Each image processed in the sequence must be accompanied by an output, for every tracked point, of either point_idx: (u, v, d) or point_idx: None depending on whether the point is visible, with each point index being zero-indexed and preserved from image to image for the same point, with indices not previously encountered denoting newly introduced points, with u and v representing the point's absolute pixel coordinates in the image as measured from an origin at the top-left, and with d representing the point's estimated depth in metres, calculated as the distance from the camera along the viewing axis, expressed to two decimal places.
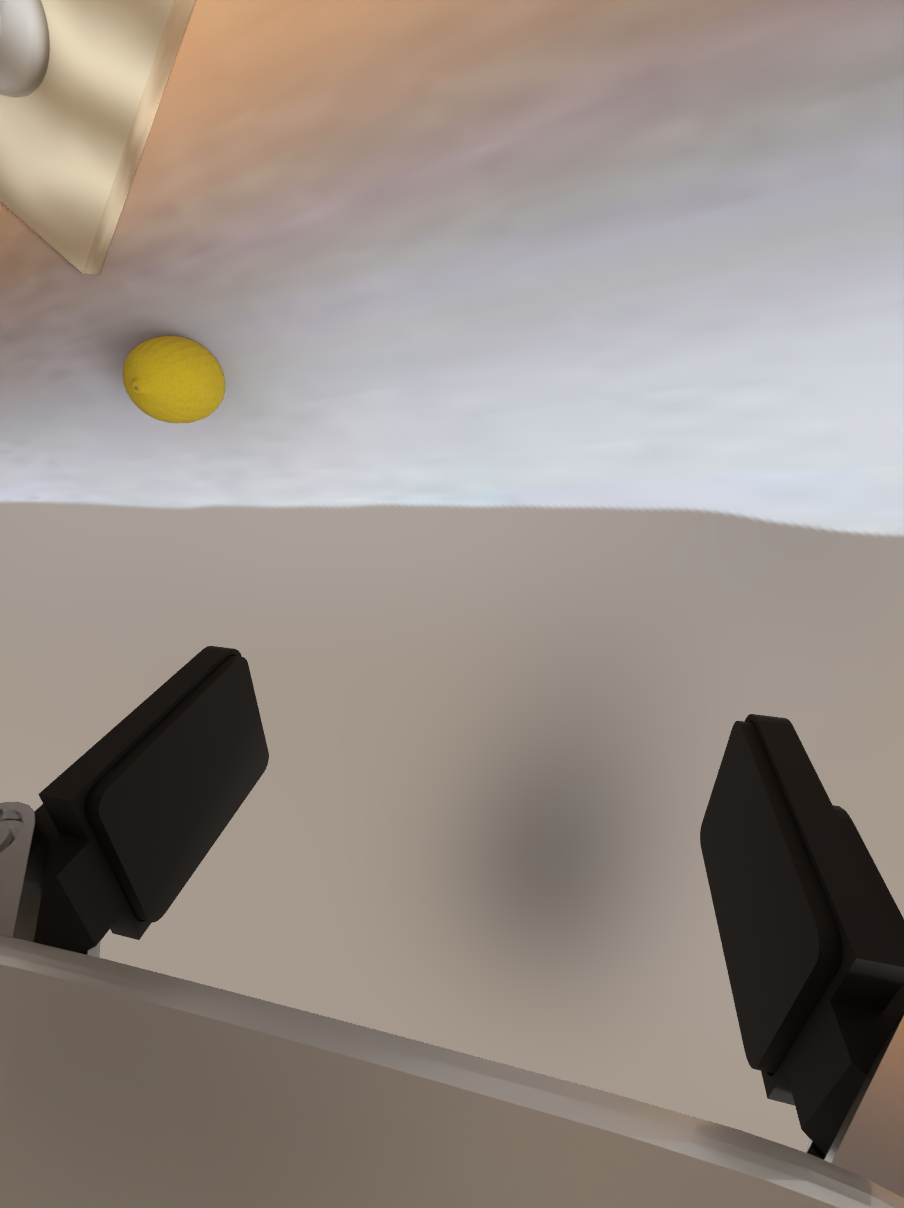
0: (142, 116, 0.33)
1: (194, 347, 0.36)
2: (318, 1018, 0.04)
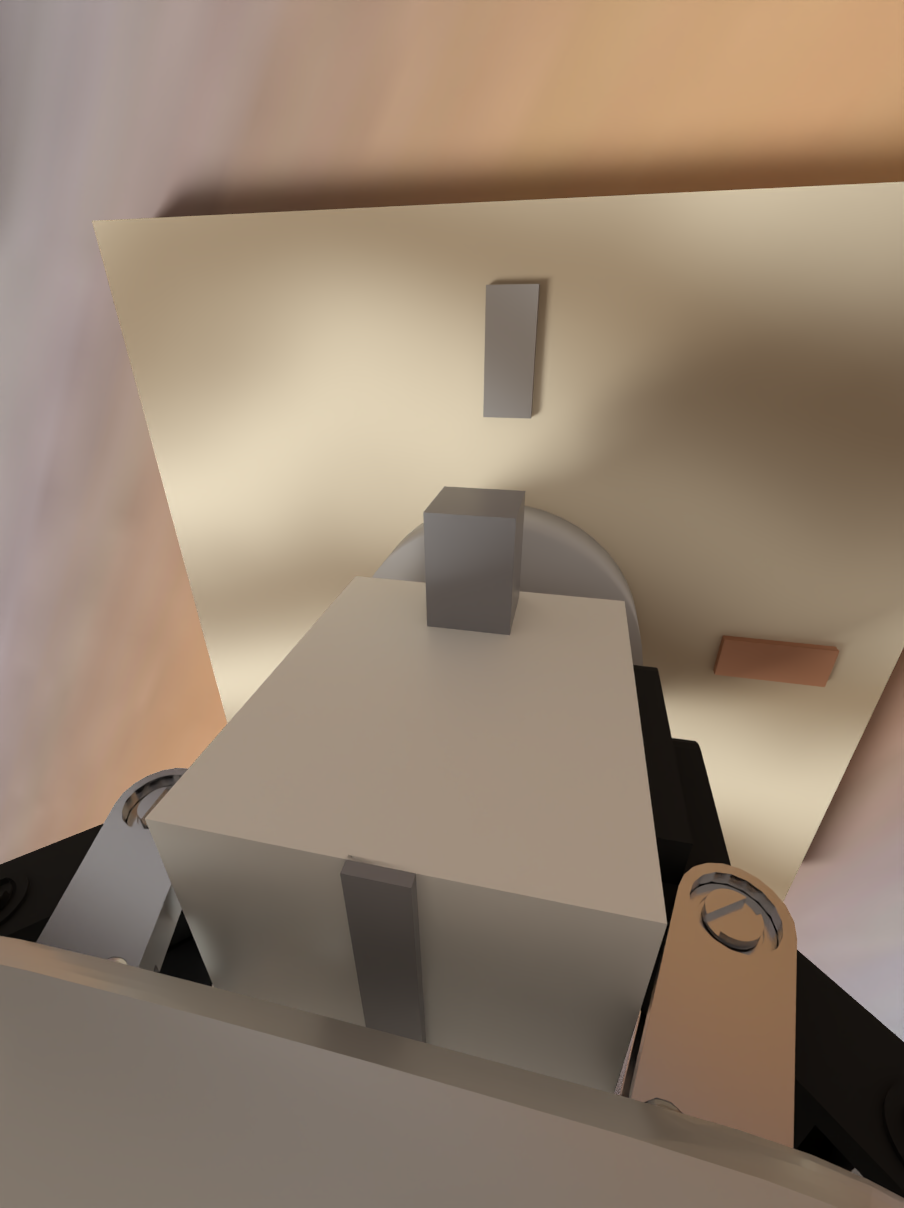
0: None
1: None
2: (318, 1018, 0.04)
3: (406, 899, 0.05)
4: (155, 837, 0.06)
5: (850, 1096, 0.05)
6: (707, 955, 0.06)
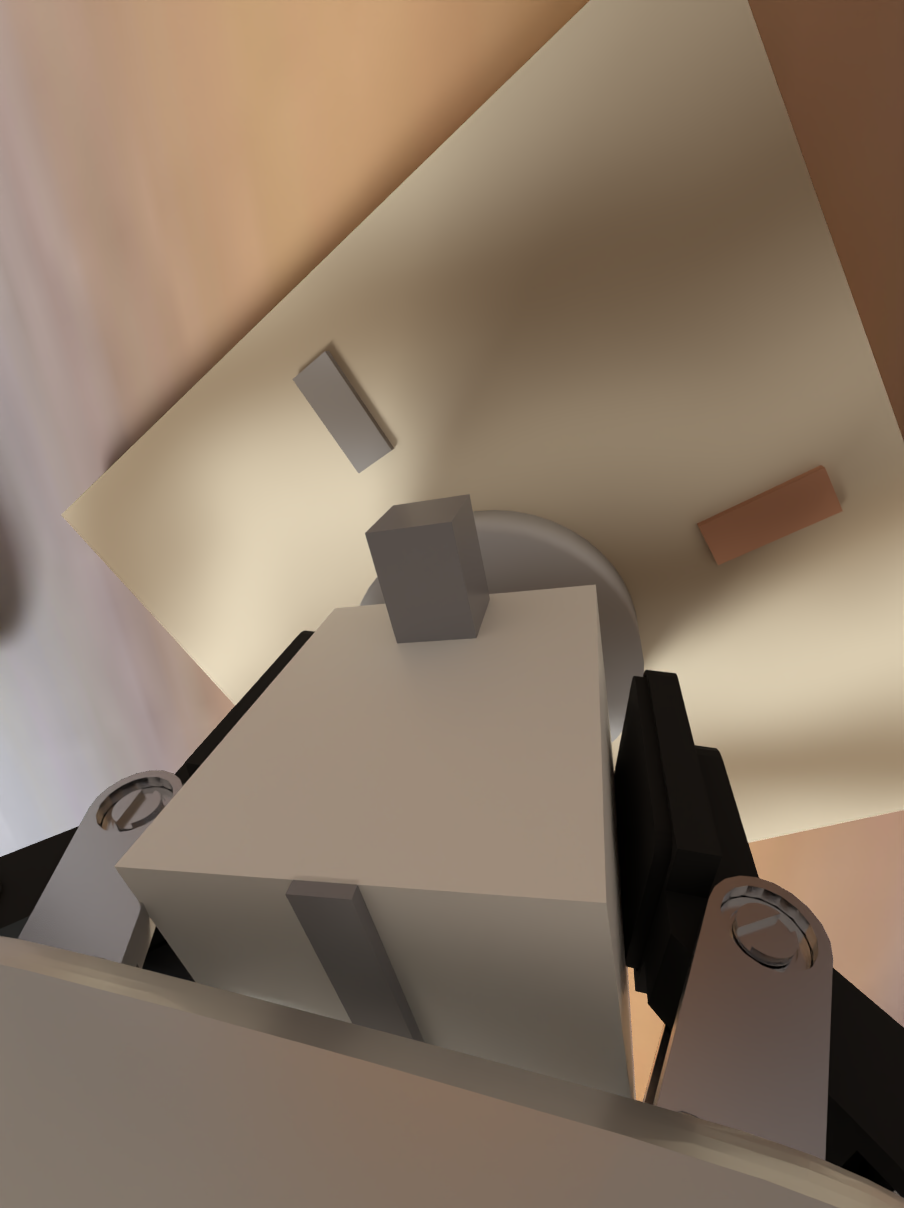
0: None
1: None
2: (318, 1018, 0.04)
3: (353, 912, 0.05)
4: (129, 884, 0.06)
5: (894, 1120, 0.05)
6: (737, 970, 0.05)
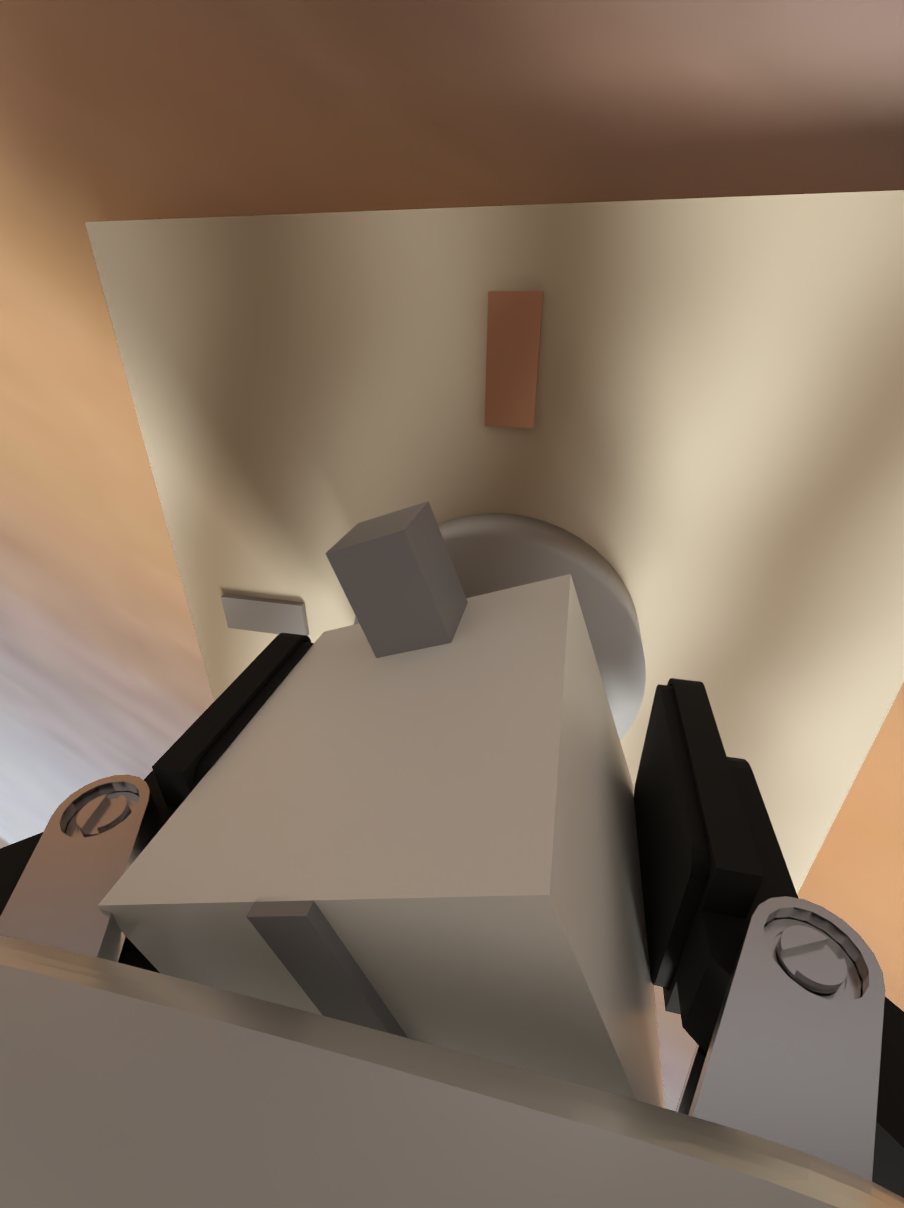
0: None
1: None
2: (318, 1018, 0.04)
3: (312, 929, 0.05)
4: None
5: None
6: (780, 993, 0.05)
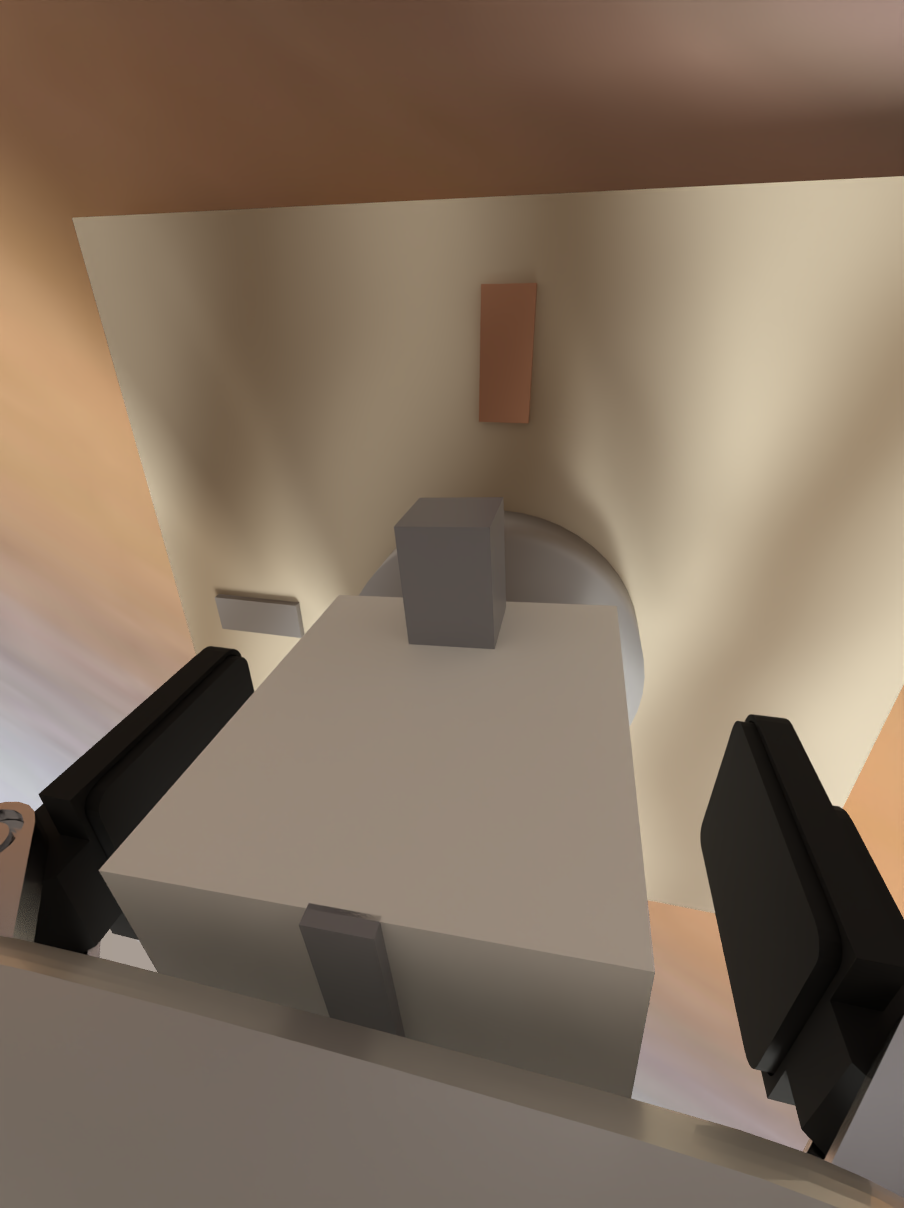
0: None
1: None
2: (318, 1018, 0.04)
3: (371, 950, 0.05)
4: (112, 889, 0.05)
5: None
6: None
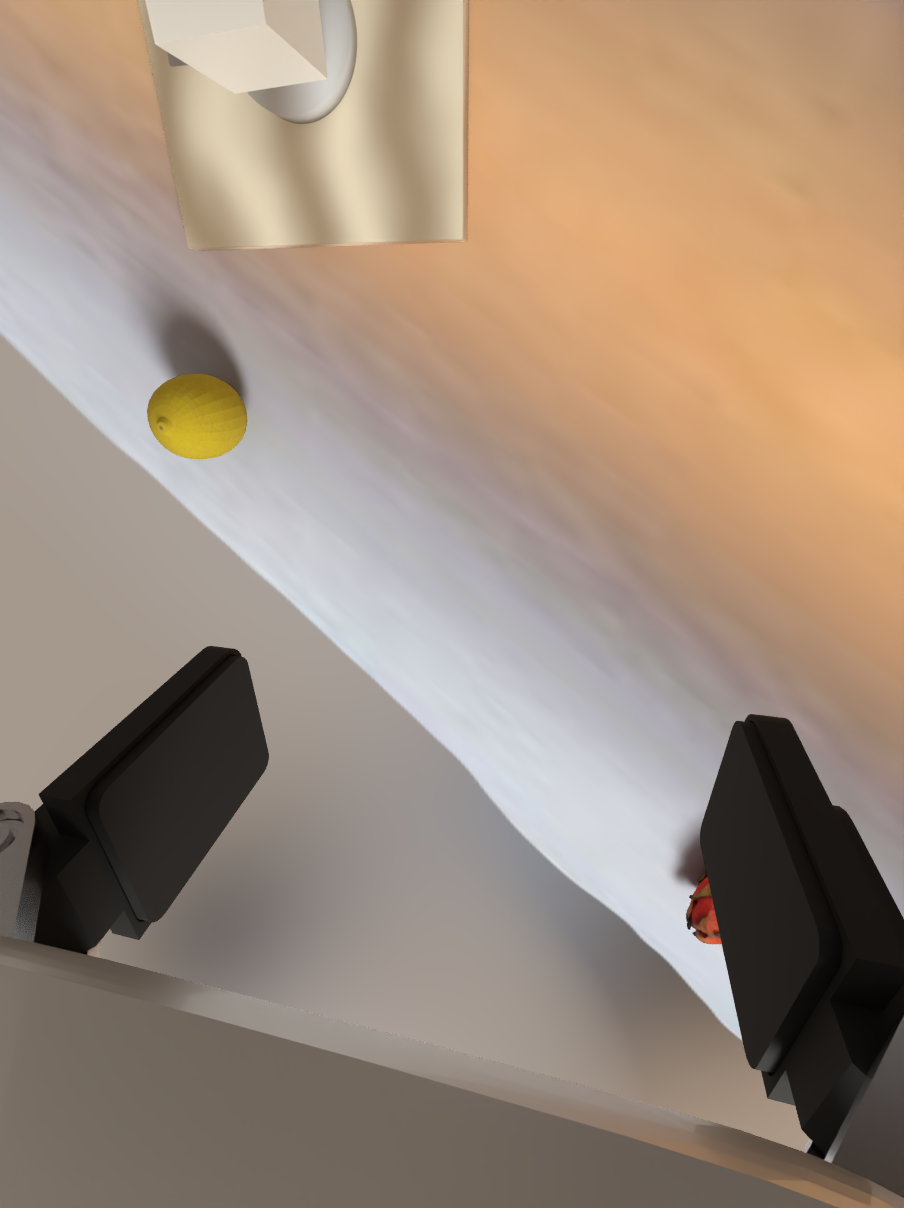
0: (347, 243, 0.33)
1: (237, 418, 0.37)
2: (318, 1018, 0.04)
3: None
4: None
5: None
6: None
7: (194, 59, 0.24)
